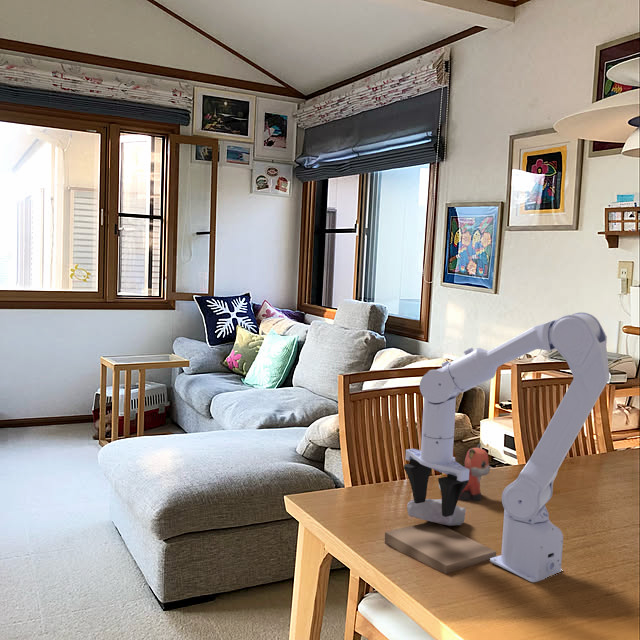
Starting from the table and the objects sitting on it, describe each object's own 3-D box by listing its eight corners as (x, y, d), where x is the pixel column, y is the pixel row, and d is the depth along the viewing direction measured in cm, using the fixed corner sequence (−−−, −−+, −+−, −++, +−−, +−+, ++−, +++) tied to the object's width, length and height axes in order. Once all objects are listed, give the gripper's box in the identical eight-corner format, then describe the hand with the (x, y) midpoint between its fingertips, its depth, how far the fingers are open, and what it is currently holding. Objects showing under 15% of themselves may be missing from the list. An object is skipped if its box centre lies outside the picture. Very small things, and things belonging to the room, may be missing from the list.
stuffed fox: (440, 488, 164) (443, 437, 163) (489, 495, 160) (493, 443, 159) (433, 498, 157) (436, 444, 156) (485, 506, 153) (488, 451, 152)
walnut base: (495, 562, 125) (496, 551, 125) (445, 577, 118) (446, 565, 118) (432, 531, 138) (433, 521, 138) (384, 542, 131) (385, 532, 131)
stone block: (402, 524, 135) (454, 525, 131) (402, 498, 136) (454, 498, 132) (418, 526, 145) (467, 527, 141) (418, 502, 147) (466, 502, 143)
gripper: (483, 442, 124) (478, 518, 125) (426, 424, 136) (422, 493, 137) (454, 447, 120) (449, 525, 121) (398, 427, 132) (394, 499, 133)
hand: (433, 508), depth 129 cm, fingers open, 7 cm apart
